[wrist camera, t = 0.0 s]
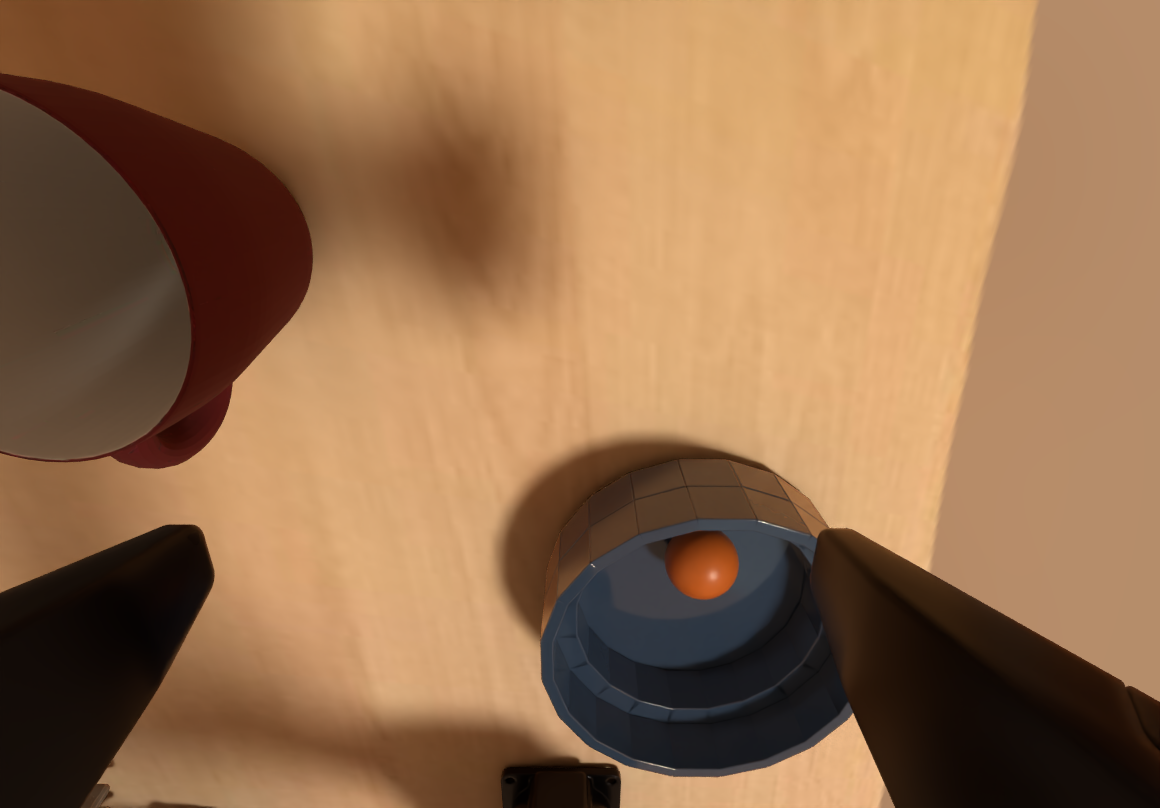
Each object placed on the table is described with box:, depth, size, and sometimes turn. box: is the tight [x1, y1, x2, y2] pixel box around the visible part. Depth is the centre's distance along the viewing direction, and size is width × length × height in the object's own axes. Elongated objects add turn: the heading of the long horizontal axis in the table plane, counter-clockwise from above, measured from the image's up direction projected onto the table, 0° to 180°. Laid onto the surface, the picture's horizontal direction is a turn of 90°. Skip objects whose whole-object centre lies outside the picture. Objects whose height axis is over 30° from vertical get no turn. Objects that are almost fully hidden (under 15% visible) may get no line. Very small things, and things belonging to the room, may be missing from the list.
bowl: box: [540, 459, 853, 777], centre depth 24 cm, size 13×13×5 cm
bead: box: [665, 531, 739, 600], centre depth 24 cm, size 3×3×3 cm
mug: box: [0, 73, 313, 469], centre depth 17 cm, size 11×8×10 cm
